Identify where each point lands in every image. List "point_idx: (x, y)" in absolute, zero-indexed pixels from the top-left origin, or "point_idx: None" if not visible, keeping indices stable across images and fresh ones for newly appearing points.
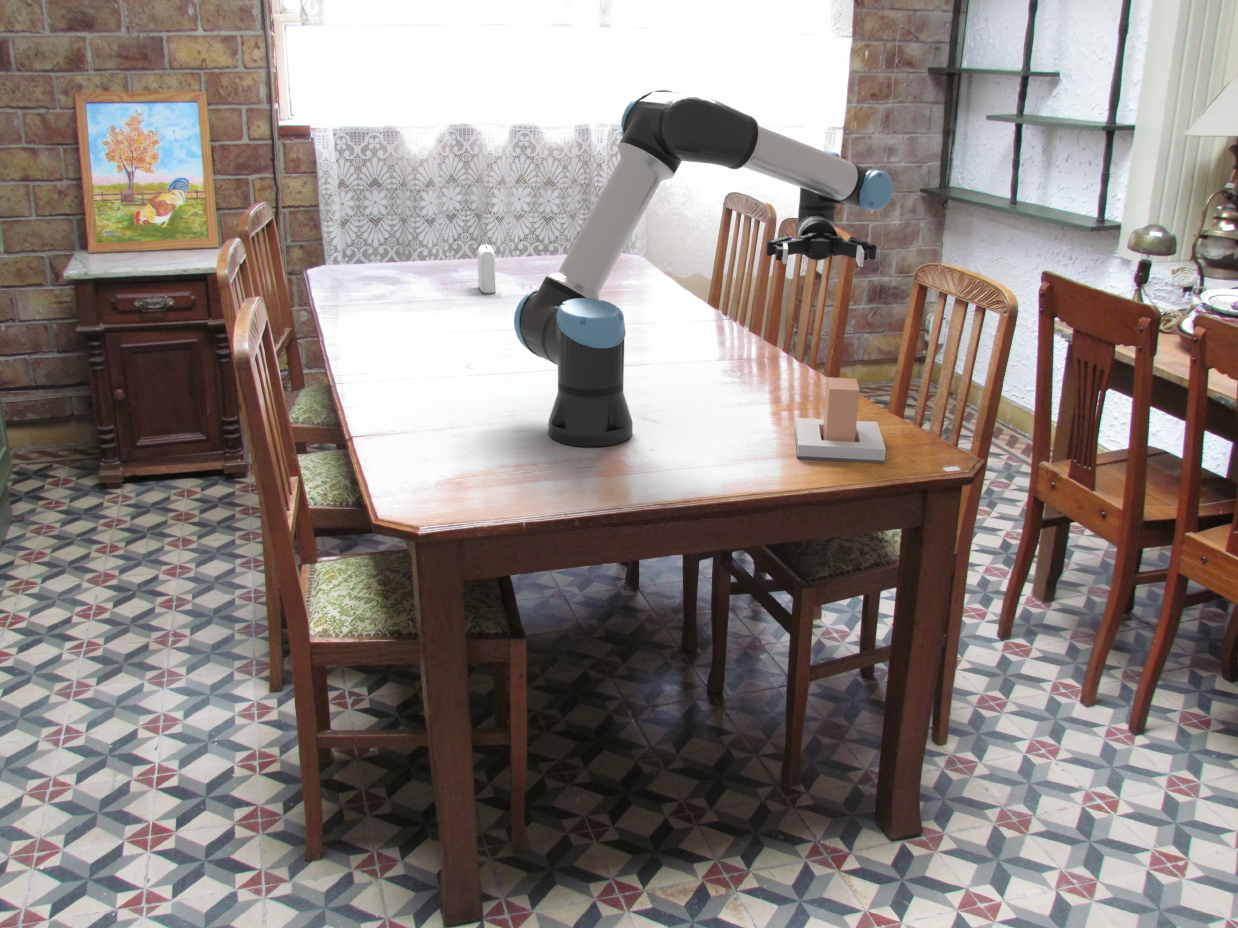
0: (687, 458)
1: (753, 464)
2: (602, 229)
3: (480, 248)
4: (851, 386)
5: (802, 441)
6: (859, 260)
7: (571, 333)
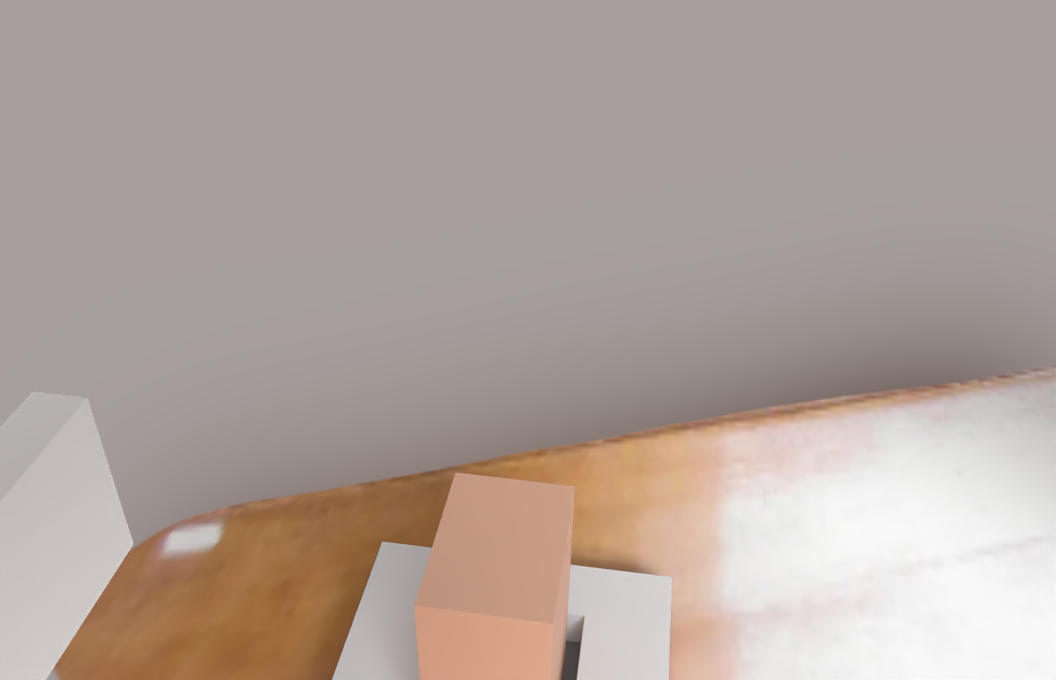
0: (1038, 615)
1: (810, 571)
2: None
3: None
4: (473, 511)
5: (655, 605)
6: (113, 485)
7: None
